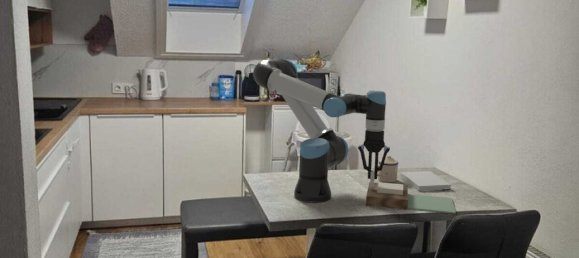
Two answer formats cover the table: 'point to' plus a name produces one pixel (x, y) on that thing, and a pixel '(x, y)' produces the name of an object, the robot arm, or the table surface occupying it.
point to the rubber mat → (431, 203)
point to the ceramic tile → (390, 188)
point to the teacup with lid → (388, 170)
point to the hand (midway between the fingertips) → (372, 186)
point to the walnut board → (387, 198)
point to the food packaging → (424, 181)
